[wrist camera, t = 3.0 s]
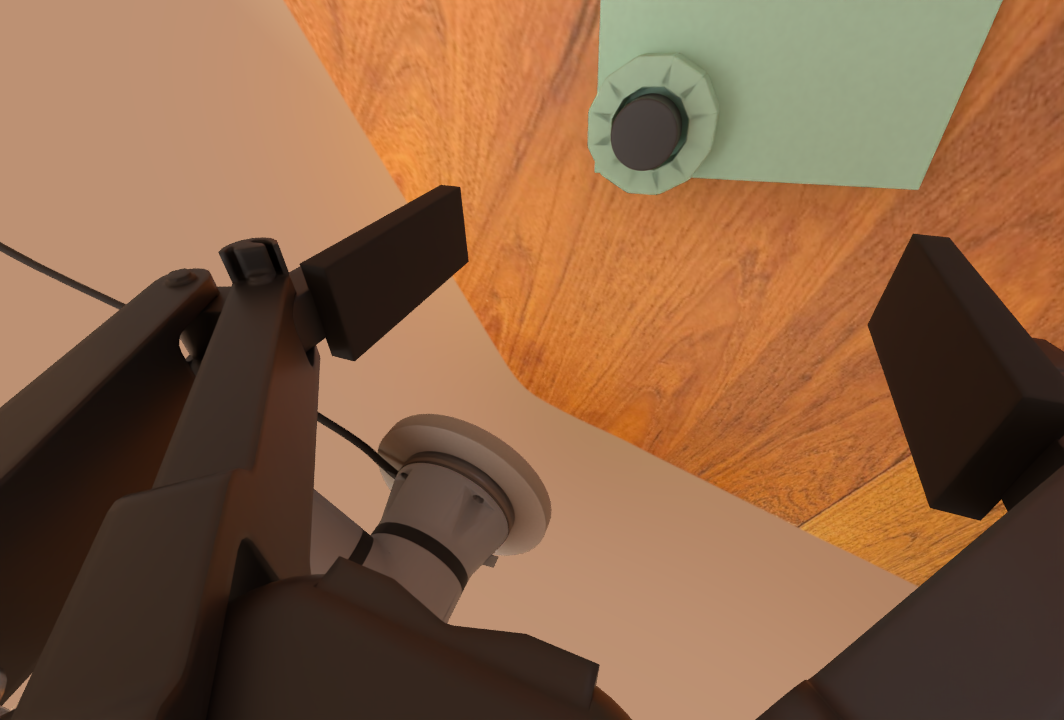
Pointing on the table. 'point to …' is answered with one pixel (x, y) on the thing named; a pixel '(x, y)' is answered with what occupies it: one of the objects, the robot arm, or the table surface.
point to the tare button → (646, 132)
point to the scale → (788, 86)
